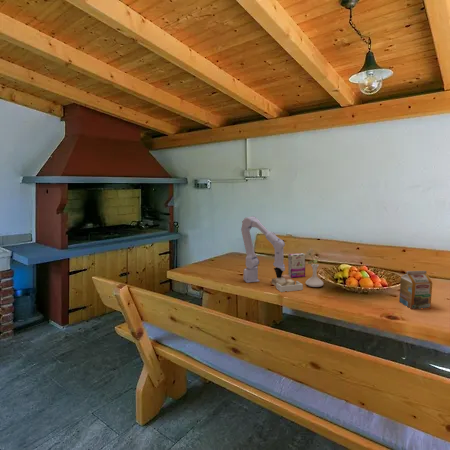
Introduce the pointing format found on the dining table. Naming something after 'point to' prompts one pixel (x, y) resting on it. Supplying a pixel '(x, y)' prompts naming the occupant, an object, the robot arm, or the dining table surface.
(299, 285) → the tray
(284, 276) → the terracotta tile
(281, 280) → the white tile
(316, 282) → the flower in vase
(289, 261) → the candy bar box
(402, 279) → the milk carton
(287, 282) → the birch board
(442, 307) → the dining table surface
